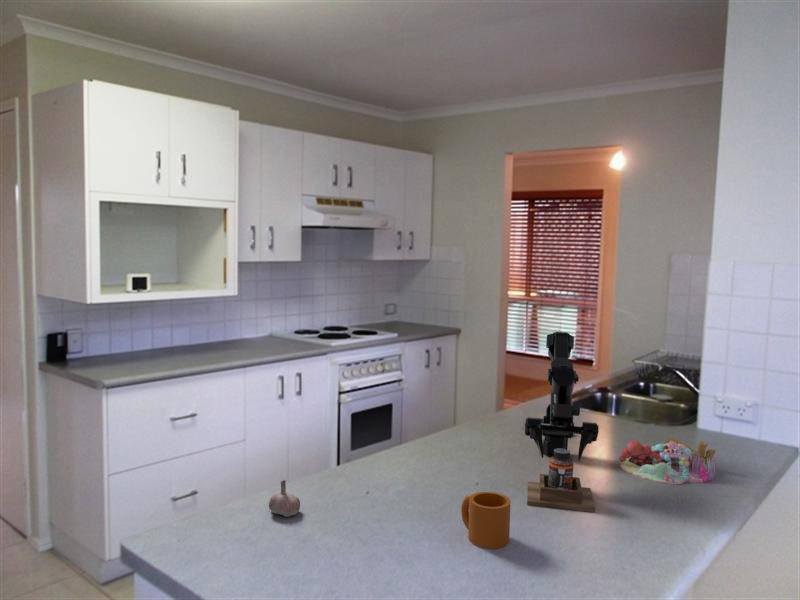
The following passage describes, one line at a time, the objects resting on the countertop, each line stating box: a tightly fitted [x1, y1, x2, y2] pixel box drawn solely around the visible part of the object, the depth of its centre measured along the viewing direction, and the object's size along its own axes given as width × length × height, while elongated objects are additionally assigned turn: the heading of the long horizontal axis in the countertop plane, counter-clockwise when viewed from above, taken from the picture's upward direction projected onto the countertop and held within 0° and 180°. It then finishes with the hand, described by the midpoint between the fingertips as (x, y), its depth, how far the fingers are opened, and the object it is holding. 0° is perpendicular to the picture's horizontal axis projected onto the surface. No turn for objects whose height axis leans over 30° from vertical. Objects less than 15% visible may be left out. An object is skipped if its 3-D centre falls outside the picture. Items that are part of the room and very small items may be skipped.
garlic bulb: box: [268, 479, 301, 518], centre depth 149 cm, size 8×7×8 cm
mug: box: [460, 491, 512, 550], centre depth 140 cm, size 9×12×9 cm
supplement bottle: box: [548, 448, 574, 490], centre depth 163 cm, size 6×6×11 cm
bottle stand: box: [526, 473, 596, 513], centre depth 163 cm, size 13×16×4 cm
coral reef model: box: [618, 436, 716, 485], centre depth 185 cm, size 25×24×9 cm
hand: (560, 458), depth 166 cm, fingers open, 9 cm apart
